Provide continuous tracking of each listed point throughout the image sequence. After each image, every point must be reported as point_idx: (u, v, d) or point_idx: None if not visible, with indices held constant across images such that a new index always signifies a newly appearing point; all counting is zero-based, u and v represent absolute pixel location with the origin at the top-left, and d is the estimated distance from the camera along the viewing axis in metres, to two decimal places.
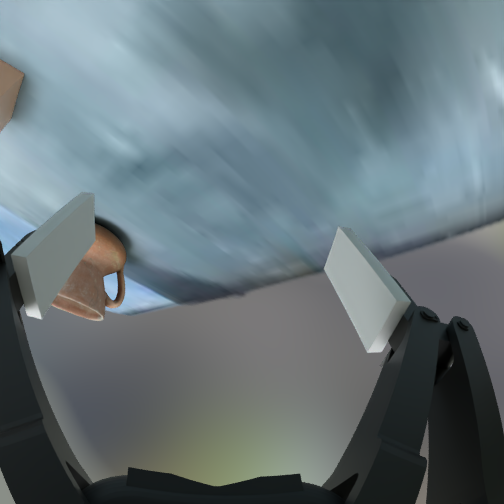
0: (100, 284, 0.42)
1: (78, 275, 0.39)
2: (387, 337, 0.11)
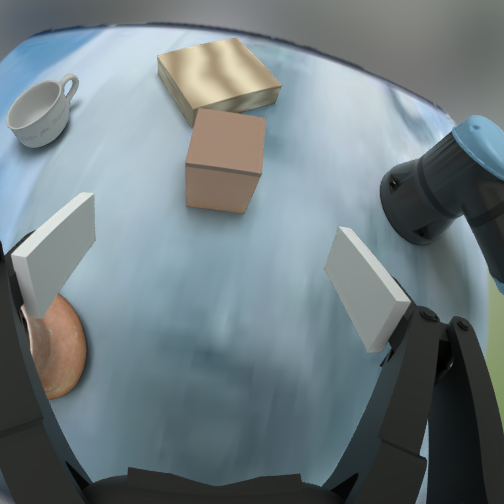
0: None
1: (45, 342, 0.22)
2: (387, 337, 0.11)
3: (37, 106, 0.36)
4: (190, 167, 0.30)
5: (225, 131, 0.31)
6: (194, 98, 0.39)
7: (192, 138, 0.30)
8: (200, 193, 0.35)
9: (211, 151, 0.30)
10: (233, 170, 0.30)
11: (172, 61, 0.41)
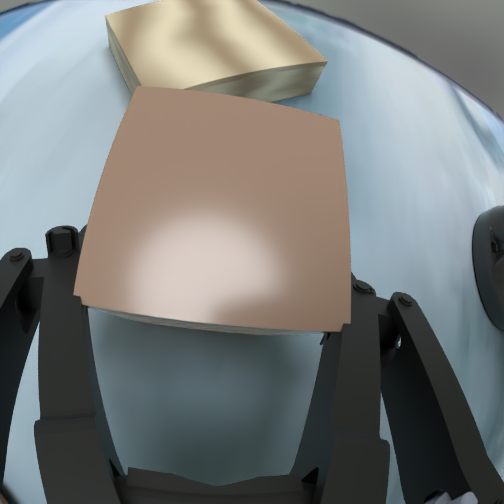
0: None
1: None
2: None
3: None
4: (97, 308, 0.08)
5: (218, 161, 0.09)
6: (155, 78, 0.17)
7: (100, 194, 0.08)
8: None
9: (164, 249, 0.08)
10: (251, 326, 0.08)
11: (127, 20, 0.19)
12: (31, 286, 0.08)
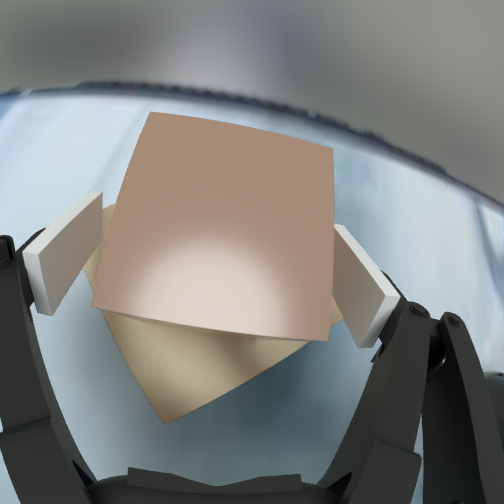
0: None
1: None
2: (377, 332, 0.11)
3: None
4: (111, 311, 0.09)
5: (220, 187, 0.10)
6: (162, 393, 0.18)
7: (117, 213, 0.09)
8: (163, 324, 0.15)
9: (172, 264, 0.09)
10: (242, 332, 0.09)
11: (101, 252, 0.19)
12: None
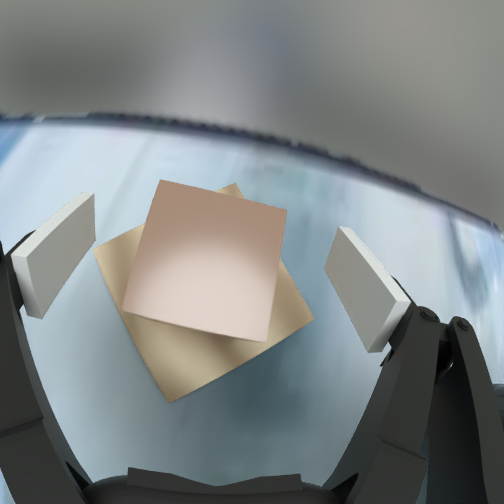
0: None
1: None
2: (387, 337, 0.11)
3: None
4: (133, 313, 0.15)
5: (204, 240, 0.16)
6: (168, 378, 0.24)
7: (138, 253, 0.15)
8: (164, 323, 0.21)
9: (172, 288, 0.15)
10: (212, 332, 0.15)
11: (119, 270, 0.25)
12: None
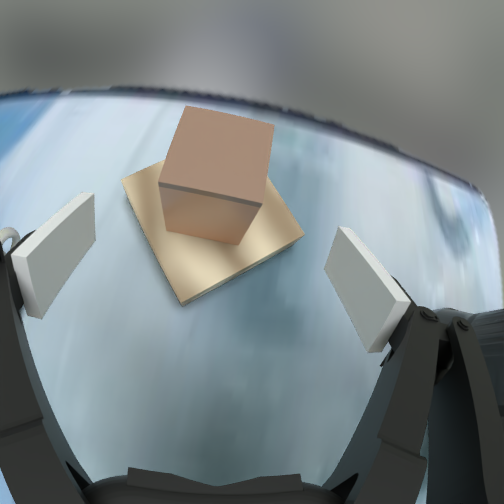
0: None
1: None
2: (387, 337, 0.11)
3: None
4: (164, 187, 0.21)
5: (217, 139, 0.23)
6: (181, 279, 0.30)
7: (171, 147, 0.22)
8: (182, 219, 0.27)
9: (195, 167, 0.21)
10: (223, 196, 0.22)
11: (143, 194, 0.31)
12: None
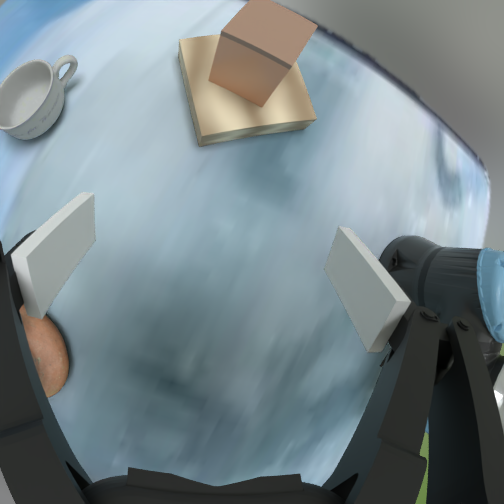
0: None
1: None
2: (387, 337, 0.11)
3: (30, 83, 0.28)
4: (224, 37, 0.23)
5: (273, 20, 0.24)
6: (207, 119, 0.33)
7: (237, 14, 0.23)
8: (226, 69, 0.29)
9: (251, 30, 0.23)
10: (265, 53, 0.24)
11: (195, 53, 0.32)
12: None
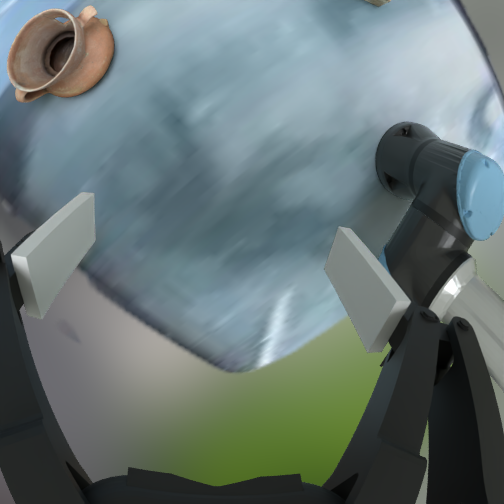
0: None
1: (78, 61, 0.27)
2: (387, 337, 0.11)
3: None
4: None
5: None
6: None
7: None
8: None
9: None
10: None
11: None
12: None
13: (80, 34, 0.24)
